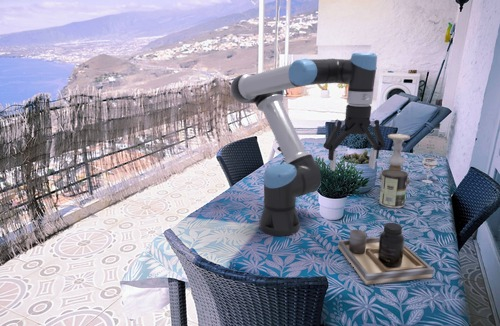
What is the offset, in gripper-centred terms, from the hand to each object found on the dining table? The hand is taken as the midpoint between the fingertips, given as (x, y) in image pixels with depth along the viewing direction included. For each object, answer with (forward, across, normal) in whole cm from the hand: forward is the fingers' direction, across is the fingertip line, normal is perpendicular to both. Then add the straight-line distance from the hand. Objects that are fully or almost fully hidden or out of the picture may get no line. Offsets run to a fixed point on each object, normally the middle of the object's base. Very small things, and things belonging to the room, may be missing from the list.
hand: (352, 168), depth 111 cm
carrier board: (+25, +5, -17) cm, 30 cm away
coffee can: (+26, +31, +24) cm, 47 cm away
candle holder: (+26, +48, +52) cm, 75 cm away
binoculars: (+28, -1, +77) cm, 82 cm away
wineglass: (+26, +64, +48) cm, 84 cm away
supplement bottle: (+24, +6, -19) cm, 31 cm away
